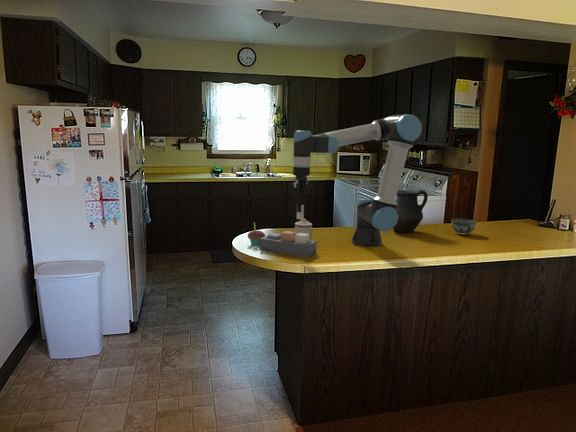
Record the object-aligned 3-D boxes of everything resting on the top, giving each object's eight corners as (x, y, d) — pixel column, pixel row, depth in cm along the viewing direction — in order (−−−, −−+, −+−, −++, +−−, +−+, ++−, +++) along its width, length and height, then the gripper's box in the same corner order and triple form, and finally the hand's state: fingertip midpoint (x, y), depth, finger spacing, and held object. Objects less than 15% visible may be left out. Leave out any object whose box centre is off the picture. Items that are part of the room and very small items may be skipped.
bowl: (453, 230, 264) (455, 217, 262) (477, 234, 256) (478, 220, 255) (447, 234, 253) (448, 220, 251) (471, 237, 245) (473, 223, 244)
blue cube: (281, 244, 206) (282, 234, 205) (276, 246, 202) (277, 236, 201) (272, 243, 208) (272, 232, 207) (267, 245, 204) (267, 234, 203)
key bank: (316, 252, 202) (316, 241, 201) (307, 258, 193) (308, 245, 192) (270, 245, 212) (270, 234, 211) (259, 249, 203) (260, 238, 202)
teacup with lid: (313, 243, 219) (314, 220, 217) (295, 243, 217) (296, 220, 215) (308, 237, 231) (309, 215, 229) (291, 237, 229) (292, 215, 227)
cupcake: (258, 248, 206) (258, 223, 204) (243, 245, 210) (244, 220, 208) (268, 244, 213) (269, 220, 211) (254, 241, 218) (255, 218, 215)
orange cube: (295, 242, 203) (295, 232, 202) (290, 244, 198) (291, 234, 197) (285, 241, 205) (286, 230, 204) (280, 243, 200) (281, 232, 200)
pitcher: (384, 226, 267) (387, 185, 262) (421, 228, 264) (425, 187, 260) (387, 233, 247) (390, 189, 242) (426, 236, 244) (431, 192, 240)
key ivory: (309, 244, 200) (309, 234, 199) (305, 247, 195) (305, 236, 195) (299, 243, 202) (299, 232, 201) (294, 245, 198) (295, 234, 197)
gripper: (300, 165, 200) (298, 215, 205) (287, 166, 189) (285, 220, 193) (315, 166, 197) (313, 217, 202) (303, 167, 186) (301, 222, 190)
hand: (300, 218), depth 198 cm, fingers closed
